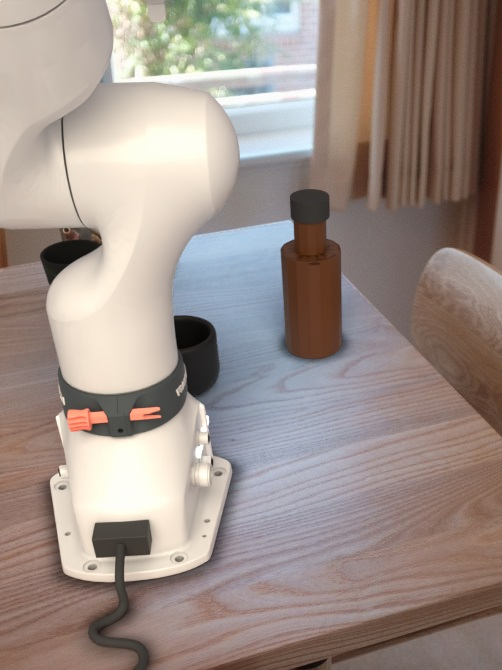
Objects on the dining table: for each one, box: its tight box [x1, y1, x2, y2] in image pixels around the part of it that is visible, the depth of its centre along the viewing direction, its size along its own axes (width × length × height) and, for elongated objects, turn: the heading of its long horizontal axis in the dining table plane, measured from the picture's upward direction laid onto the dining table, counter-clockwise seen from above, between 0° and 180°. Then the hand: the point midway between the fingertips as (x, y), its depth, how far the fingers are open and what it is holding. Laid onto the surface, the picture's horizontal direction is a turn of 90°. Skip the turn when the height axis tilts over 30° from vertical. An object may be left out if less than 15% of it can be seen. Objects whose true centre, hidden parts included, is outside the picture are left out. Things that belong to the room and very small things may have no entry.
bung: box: [289, 188, 331, 224], centre depth 106 cm, size 5×5×4 cm
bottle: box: [279, 220, 343, 360], centre depth 112 cm, size 7×7×17 cm
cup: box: [39, 239, 101, 287], centre depth 115 cm, size 8×8×12 cm
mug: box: [174, 314, 221, 397], centre depth 107 cm, size 12×9×7 cm
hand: (159, 11), depth 100 cm, fingers open, 8 cm apart
